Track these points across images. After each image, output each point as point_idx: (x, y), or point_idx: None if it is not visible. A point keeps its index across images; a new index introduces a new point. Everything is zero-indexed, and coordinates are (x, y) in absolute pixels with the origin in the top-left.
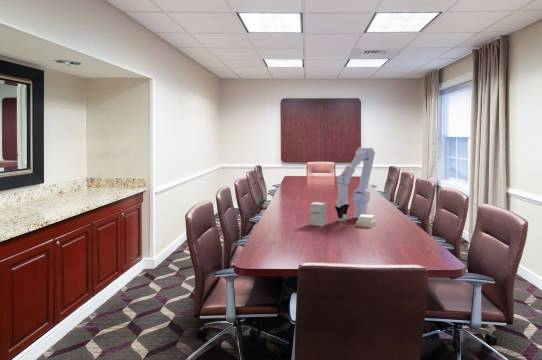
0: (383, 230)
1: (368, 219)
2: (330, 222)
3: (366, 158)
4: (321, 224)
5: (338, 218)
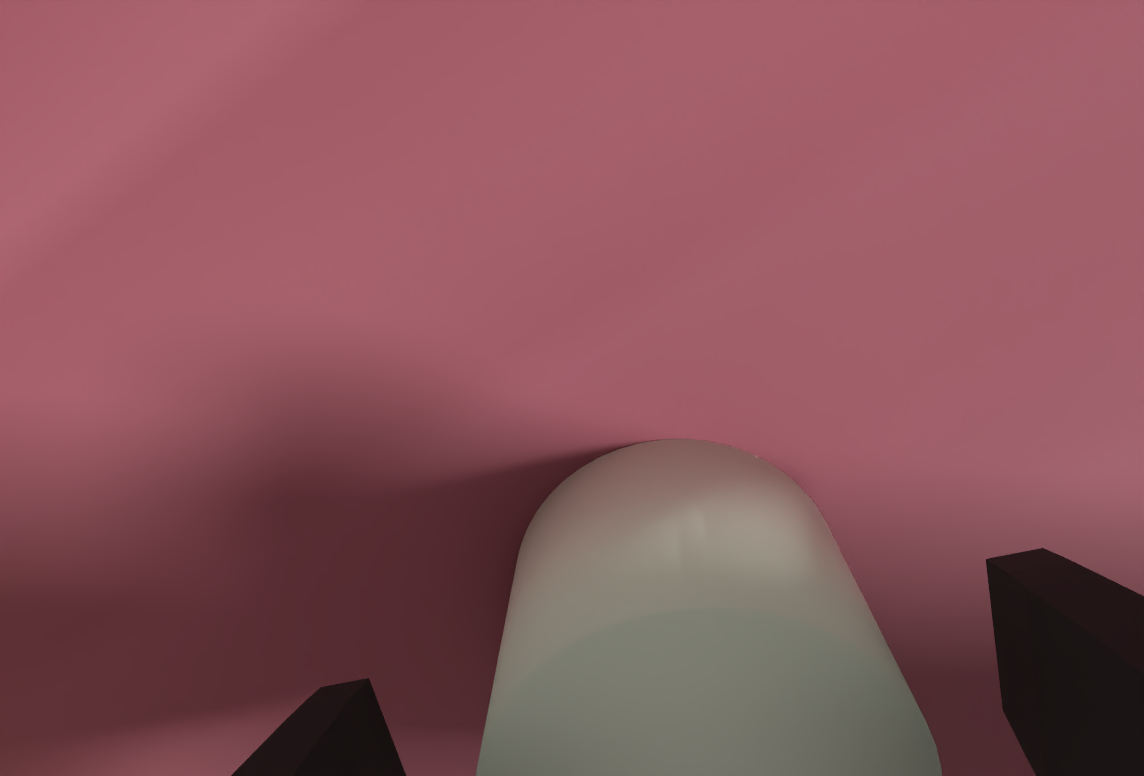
0: None
1: None
2: (24, 410)
3: None
4: None
5: (573, 518)
